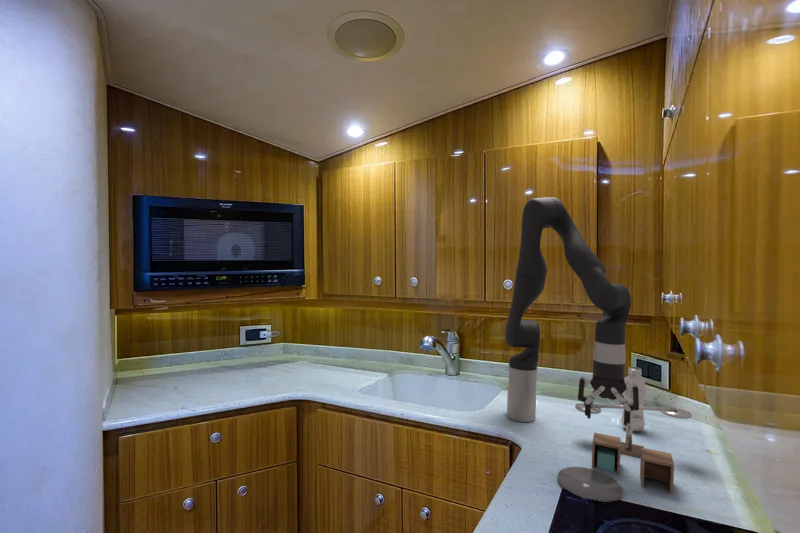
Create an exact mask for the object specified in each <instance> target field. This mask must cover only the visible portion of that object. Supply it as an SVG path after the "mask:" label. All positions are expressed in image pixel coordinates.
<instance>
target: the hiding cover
mask: <svg viewBox="0 0 800 533" xmlns="http://www.w3.org/2000/svg"><path fill="white" fill-rule="evenodd" d="M621 442H622V440H621V437H619V436H613V435H608V434H605V433H604V434H603V433H601V432H600V433H598V432H593V438H592V450H591V451H592V452H591V453H592V454H591V469H594V468H595V462H596V460H597V454H598V446H599V447H603V448H608V449H613V450H615V463H614V465H615V464H617V466H616V467H617V468H616V474H617V475H620V468H621V467H620V466H621V453H620V448H621Z"/></svg>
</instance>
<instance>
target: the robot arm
mask: <svg viewBox="0 0 800 533" xmlns="http://www.w3.org/2000/svg"><path fill="white" fill-rule="evenodd" d="M548 228H551V229H552V230H553V231H555V232H556V233H557V235H558V236H559V237H560V239H561V241H562V245H563V251H564V256H565V259H566V262H567V264H568V265H569V266H570V268H571V270H573V272H574V274H575V275H576V276H577V277H578V279H579V280H580V281H581V283H582V286H583V288H584V290H585V292H586V295H587V297H588V299H589V300H590V302H591V303H592V304H593V306H595V307H597V309H599V310H600V311H602V315H601V318H600V319H598V320H597V321H596V322H595V329H594V334H595V335H594V346H593V354H592V357H593V358H592V359H593V360H592V376H591V378H585V377H584V376H581V377H580V378H579V383H578V393H577V400H578V401H579V402H582V403H585V413H584V415H585V416H586V417H587V419H591V417H592V415H591V402H592V401H593V402H594V400H595V399H596V398H597V397H600V398H601V399H609V400H613V401H615V400H617V401H618V402H619V404H620V405H622V406H623V407H624V408H625V409H623V410H624V425H626V426H627V424H629V423H630V412H631V411H633V410H639V394H638V386H637V385H636V384H634V385H626V384H625V378H626V359H627V357H626V356H627V355H626V344H625V343H626V326H627V322H628V318H629V314H630V311H631V306H632V294H631V293H630V291H629V288H627V286H625V285H624V284H621V283H615V282H614V283H611V282H610V280H609V279H608V278H607V276H606V273H607V268H606V267H605V265H604V264H603V262H601V260H600V259H599V257H598V256H597V255H596V253H594V252H593V251H592V249H591V248H590V246H589V245H588V244H587V242H586V241H585V239H584V237H582V235H581V233H580V231H579V230H578V227H577V226H576V224H575V222H574V220H573V219H572V217H571V215H570V213H569V211H568V209H567V208H566V206H565V205H564V203H563V202H562V201H561V199H559V198H557V197H555V196H545V197H544V196H543V197H536V198H531V199H529V200H528V201H526V203H525V205H524V207H523V210H522V216H521V232H520V233H521V235H520V246H519V254H518V261H517V267H516V271H515V278H514V287H513V294H512V300H511V306H510V309H509V313H508V316H507V319H506V324H505V325H506V326H505V330H504V331H505V332H504V339H505V342H506V345H507V346H509V347H512V348H524V349H523V351H520V353H517V354H515V355H512V356H510V358H509V360H508V381H507V383H508V386H507V396H506V397H507V399H506V400H507V401H506V413H507V415H506V416H507V417H508V418H509V419H510V420H512V421H515V422H519V423H531V422H534V421H535V420H536V415H537V413H536V412H537V410H536V409H537V387H538V386H537V383H538V382H537V380H538V377H537V376H538V363H539V358H540V355H539V354H540V353H539V352H540V344H541V328H540V324H539V323H538V321H536V320H532V319H531V320H530V319H523V316H524V314H525V312H526V311H527V309H528V308H529V307H530V306H531V305H532V304H533V303H534V302H535V301H536V300H537V298H538V297H540V295H541V294H542V293H543V291H544V289H545V284H546V279H547V275H548V267H547V263H546V260H545V258H544V255H543V252H542V249H541V239H542V234H543V230H544V229H548ZM589 384H590V386H591V387H592V389H593V391H592V392H590V394H589V395H587V396H585V394H584V393H585V388H587V387H588V385H589ZM626 389H628V390H629V392H630V394H633V404H629V403H628V402H627V400H626V399H625V397H624V391H625V390H626Z"/></svg>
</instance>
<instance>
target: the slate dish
mask: <svg viewBox="0 0 800 533" xmlns="http://www.w3.org/2000/svg"><path fill="white" fill-rule="evenodd" d="M557 483H558V484H559V486H560V487H561V489H563V488H564V489H566V490H568V491H570V492H571V493H573V494H575V495H577V496H580V497H583V498H587V499H593V500H598V501H602V502H612V501H616V502H618V501H619V500H620V499H622V496H623V487H622V486H621V484H620V483H619V482H618V480H616V479H615V478H614V477H611V475H609V474H606V473H604V472H602V471H599V470H597V469H594V468H588V467H582V466H572V467H571V466H570V467H568V466H567V467H565V468H562V469H561V470H559V472H558V473H557ZM564 489H563V490H564ZM617 500H618V501H617ZM612 503H613V502H612Z"/></svg>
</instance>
